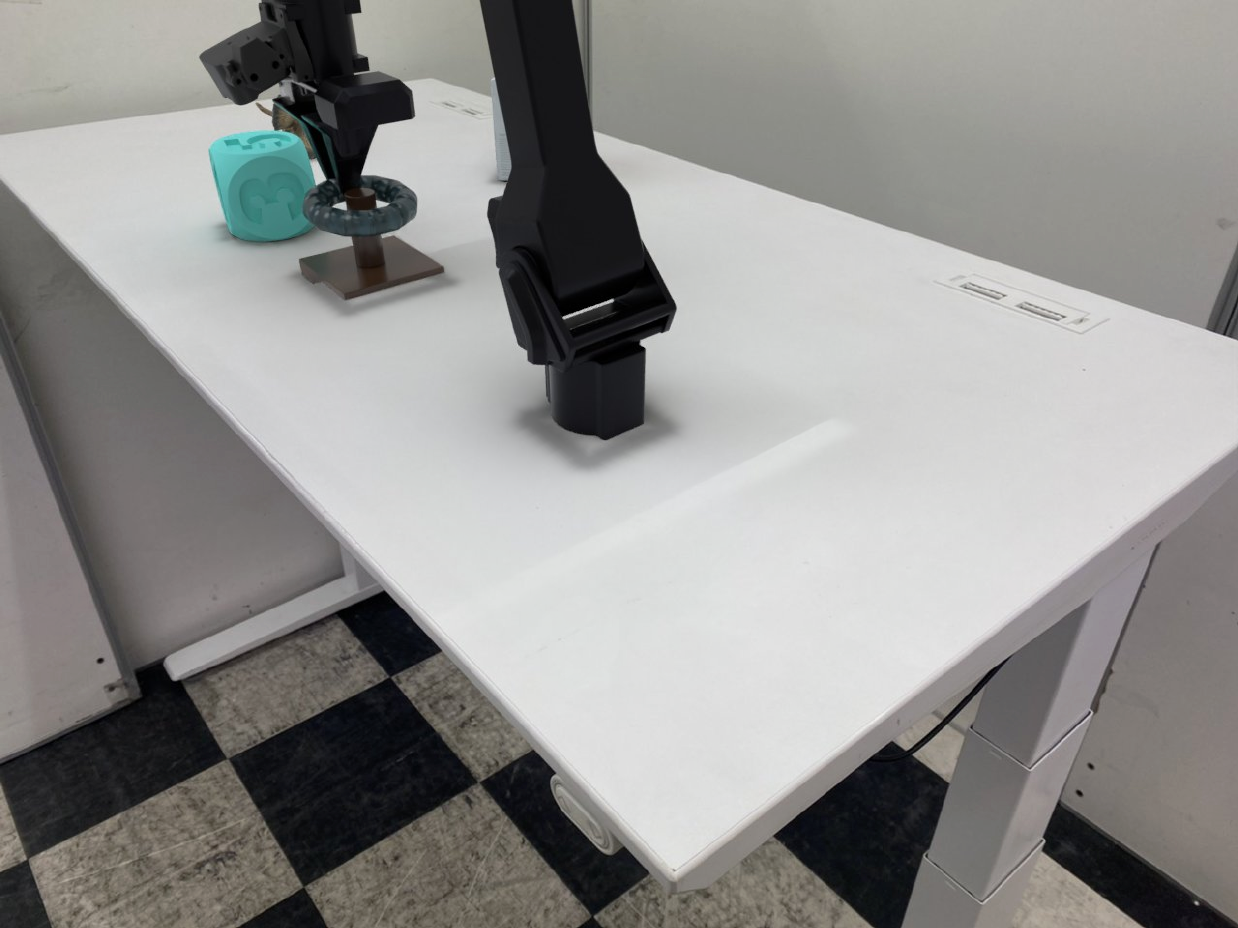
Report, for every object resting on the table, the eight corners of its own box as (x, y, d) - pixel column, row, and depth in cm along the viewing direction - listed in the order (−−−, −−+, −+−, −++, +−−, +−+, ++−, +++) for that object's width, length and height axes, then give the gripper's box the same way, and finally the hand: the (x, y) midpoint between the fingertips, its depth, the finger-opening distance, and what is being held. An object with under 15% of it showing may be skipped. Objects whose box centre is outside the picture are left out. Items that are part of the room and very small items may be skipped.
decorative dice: (224, 220, 90) (203, 136, 86) (307, 207, 93) (291, 126, 89) (237, 248, 85) (215, 160, 80) (325, 233, 88) (309, 147, 83)
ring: (438, 225, 76) (436, 201, 74) (334, 250, 71) (331, 226, 70) (386, 186, 81) (383, 164, 80) (286, 208, 76) (282, 184, 75)
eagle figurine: (243, 135, 110) (259, 140, 103) (264, 77, 109) (281, 77, 102) (305, 163, 114) (325, 169, 107) (325, 108, 114) (346, 110, 106)
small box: (546, 184, 100) (542, 81, 94) (496, 181, 100) (489, 78, 94) (562, 162, 106) (559, 64, 100) (514, 159, 107) (509, 62, 101)
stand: (445, 282, 79) (436, 196, 74) (347, 311, 74) (330, 220, 70) (396, 250, 84) (384, 168, 80) (301, 275, 80) (284, 189, 75)
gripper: (156, -23, 70) (207, 181, 79) (246, 11, 58) (294, 247, 67) (297, -34, 76) (330, 157, 85) (404, -5, 64) (430, 214, 73)
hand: (342, 191), depth 77 cm, fingers closed on ring, 2 cm apart
